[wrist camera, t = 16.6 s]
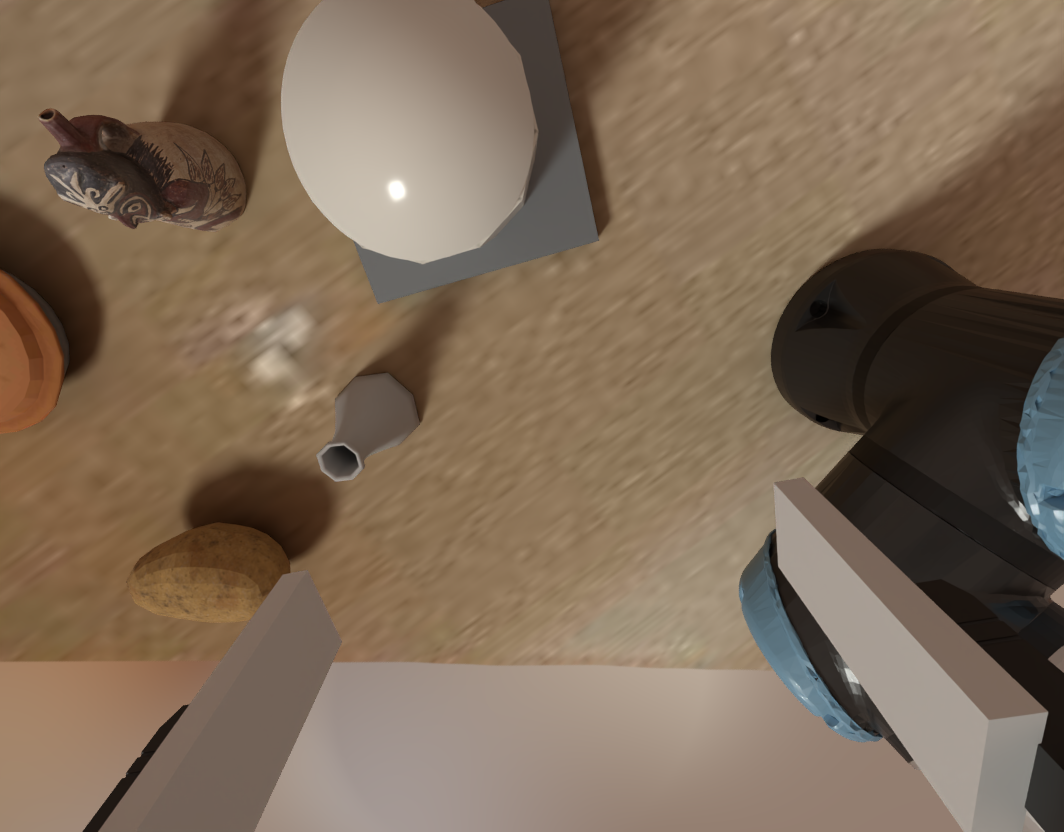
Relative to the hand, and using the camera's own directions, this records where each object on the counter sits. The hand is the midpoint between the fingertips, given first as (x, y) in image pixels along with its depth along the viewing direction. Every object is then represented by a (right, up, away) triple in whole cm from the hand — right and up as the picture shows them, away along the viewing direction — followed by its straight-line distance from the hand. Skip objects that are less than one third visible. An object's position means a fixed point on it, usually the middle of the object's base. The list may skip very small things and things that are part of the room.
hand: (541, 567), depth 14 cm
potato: (-30, -9, +36) cm, 48 cm away
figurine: (-25, +22, +24) cm, 41 cm away
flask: (-14, +5, +31) cm, 34 cm away
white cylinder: (-6, +22, +22) cm, 32 cm away
